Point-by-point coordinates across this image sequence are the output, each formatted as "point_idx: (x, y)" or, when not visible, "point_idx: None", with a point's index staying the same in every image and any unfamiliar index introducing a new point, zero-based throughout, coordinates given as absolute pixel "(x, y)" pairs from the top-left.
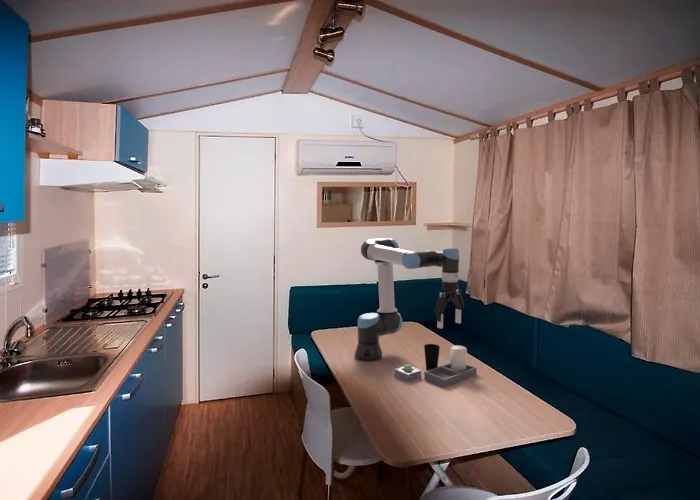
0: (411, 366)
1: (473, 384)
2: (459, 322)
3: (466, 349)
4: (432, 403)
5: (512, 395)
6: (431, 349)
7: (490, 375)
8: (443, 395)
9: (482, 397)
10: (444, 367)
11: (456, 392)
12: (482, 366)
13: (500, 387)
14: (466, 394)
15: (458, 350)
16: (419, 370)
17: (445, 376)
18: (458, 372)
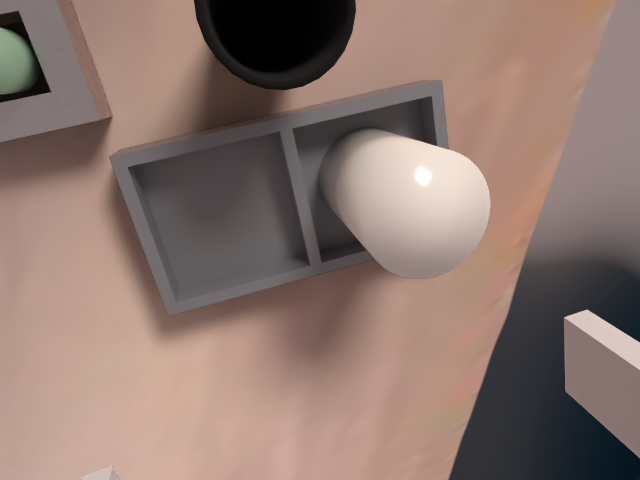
0: (5, 89)
1: (335, 314)
2: (576, 395)
3: (456, 265)
4: (3, 421)
5: (396, 446)
6: (229, 69)
7: (487, 258)
8: (109, 368)
9: (273, 431)
10: (289, 151)
11: (195, 360)
12: (554, 141)
13: (416, 377)
14: (227, 390)
15: (384, 265)
16: (83, 119)
17: (251, 201)
18: (314, 255)
